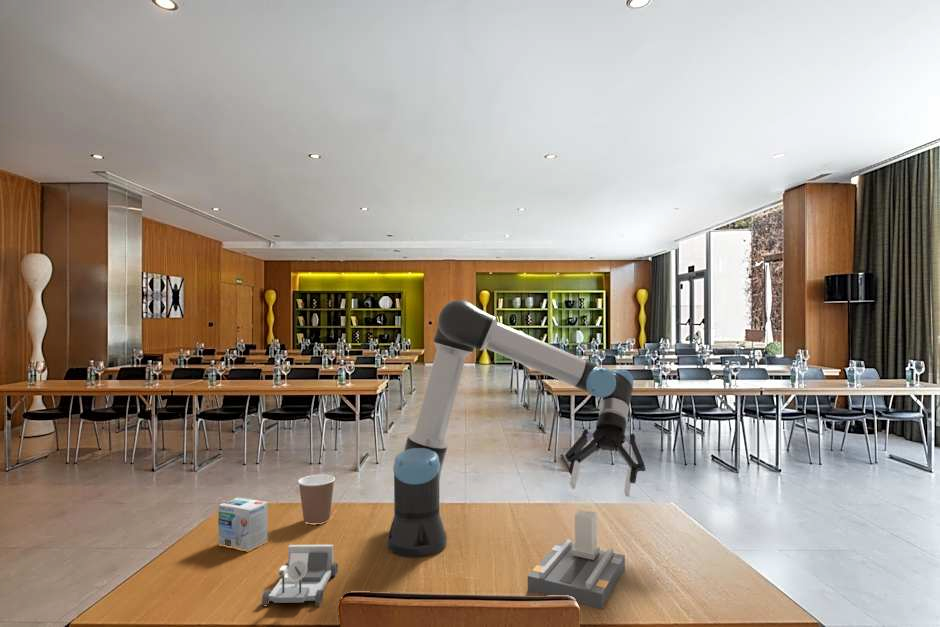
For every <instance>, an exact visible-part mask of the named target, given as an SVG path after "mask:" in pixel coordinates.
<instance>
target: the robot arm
mask: <svg viewBox="0 0 940 627" xmlns="http://www.w3.org/2000/svg"><path fill="white" fill-rule="evenodd" d="M433 345H434V346H435V348H436V351H435V356H434V359H433V362H432V366H431V370H430V373H429V377H428V380H427V385H426V388H425V393H424V395H423V399H422V404H421V407H420V411H419V414H418V418H417V421H416V425H415V429H414V431H411V433H409V434H408V435H407V438H406V443H405V444H404V445H405V446H404V449H403V450H402V451H400V452H398V454H396V456H395V457H394V461H393V462H394V463H393V476H394V477H393V485H394V486H393V487H394V488H393V494H394V495H393V502H394V503H393V506H394V507H393V508H394V509H393V510H394V512H393V513H394V515H393V518H392V522H391V525H390V528H389V531H388V535H387V539H386V541H387V549H388V551H390V552H391V553H392V554H394V555H397V556H401V557H406V558H421V557H427V556H432V555H435V554H437V553H440V552H441V551H442V550H444V549H446V546H447V532H446V531H445V527H444V524H443V520H442V517H441V513H440V480H441V474H442V470H443V465H444V462H445V457H446V453H447V450H448V445H449V444H448V443H447V442H446V440H445V437H446V433H447V430H448V427H449V421H450V417H451V414H452V410H453V406H454V403H455V399H456V395H457V392H458V388H459V385H460V380H461V377H462V373H463V370H464V366H465V362H466V359H467V357H469V356H470V355H473V353H474V349H475V350H478V351H483V350H487V351H491V352H492V353H496V354H498V355H500V356H502V357H505V358H506V359H507V358H508V359H509V360H511V361H514V362H516V363H519V364H520V365H523V366H526V367H527V368H530V369H532V370H535V371H538V372H540V373H542V374H545V375H547V376H549V377H552V378H554V379H555V380H559V381H561V382H563V383H565V384H567V385H570V386H572V387H574V388H577V389H579V390H582V391H584V392H586V393H588V394H590V395H591V396H594V397H596V398H601V399H602V400H601V404H600V408H599V412H598V418H597V422H596V428H595V430H594V432H591V431H589V430H588V429H586V428H584V429H583V431H582V434H581V436H580V437H579V438H578V439H577V440H576V442H575V443H574V444H573V445H572V446H571V448H570V449H569V450H568V451H567V452H566V453H565V455H564V456H565V459H566V461H567V462H568V463H570V464H569V468H568V472H569V476H570V479H569V485H570V487H571V489H573V490H576V486H577V481H578V476H579V474H580V473H579V472H580V468H581V466H580V463H581V462H583V461H584V460H585V459H587V458H588V457H589V456H591V455H592V454H593V453H595V452H598V450H600V449H601V451H610V452H614V451H615V450H616V452H618V454H619V455H620V456H621V457H622V458H623V460H624V461H625V462H626V464H627V465H628V466H627V471H626V478H625V482H624V490H623V491H624V495H625V497H629V498H630V493H631V486H632V484H636V482H637V476H638V473H639V472H645V471H646V470H647V469H646V466H645V463H644V460H643V458H642V455H641V453H640V451H639V447H638V445H637V438H636V435H635V434H634V433H630V434H629V435H626V428H627V421H628V416H629V413H630V404H631V400H632V393H633V390H634V377H633V375H632V374H631V373H630V372H629V371H628V370H626V369H620V368H613V369H611V370H610V369H608V368H606V367H605V366H600V365H598V364H596V363H593V362H591V361H588V360H586V359H584V358H581V357H579V356H577V355H575V354H572V353H571V352H567V351H565V350H564V349H561V348H559V347H556V346H554V345H552V344H549V343H547V342H544V341H543V340H540V339H537V338H535V337H533V336H531V335H529V334H527V333H524V332H522V331H519V330H517V329H514V328H513V327H510V326H507V325H506V324H503V323H500V322H499V321H498V320H497V318H496V316H494V315H491V314H489V313H488V312H485V311H484V310H482V309H480V308H478V307H477V306H476V305H475V304H473V303H471V302H469V301H467V300H463V299H456V300H452V301H449V302H448V303H446V304H445V305H444V306H443V307H442V308H441V310H440V312H439V315H438V318H437V327H436V332H435V334H434V339H433ZM592 438H593V439H592ZM591 439H592V440H591ZM588 441H589V444H587V443H588ZM625 442H627V444H628V445H629V446H630V447H631V450H632V452H633V455H634V456H635V459H636V462H637V463H636V462H635V461H634V459H632V457H631V456H630V455H629V453H628V452H627V451H626V449H625V448H624V446H623V444H624V443H625Z"/></svg>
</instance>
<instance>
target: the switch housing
mask: <svg viewBox="0 0 940 627" xmlns="http://www.w3.org/2000/svg"><path fill="white" fill-rule="evenodd" d="M574 547H575V544H573V540H572V539H567V540H566V541H565V542H562V541H558V542H557V544H555V545H554V546H553V547H552V549H551V550H550V551H549V552H548V553H547V554H546V555H545V557H543V559H542V560H541V561H540V562H539V563H538V564H537V565H536V566H535V567H534V568H533V569H532V570H531V572H530V573H529V574H528V575H527V591H529V592H530V591H531V592H534V593H538V594H542V595H545V596H549V595H569V596H572V597H574V598H575V599H576V601H577V602H578V603H577V604H581V605H585V606H588V607H593V608H596V609H600V610H602V609H603V608H604V607H603V606H605V605H606V603H607V601H608V600H609V598H610V596H611V594H612V593H613V591H614V589H615V587H616V585H617V583H618V582H619V580H620V578H621V576H622V575H623V572H624V571H625V569H626V555H625V554H621V553H616V552H614V548H613V547H609V548H608V549H607V550H602V549H600V552H599V553H598V554H597V556H596V557H595V559H594V560H592V559H587V558H582V557H578V556H573V555H572V550H573V549H574Z"/></svg>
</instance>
